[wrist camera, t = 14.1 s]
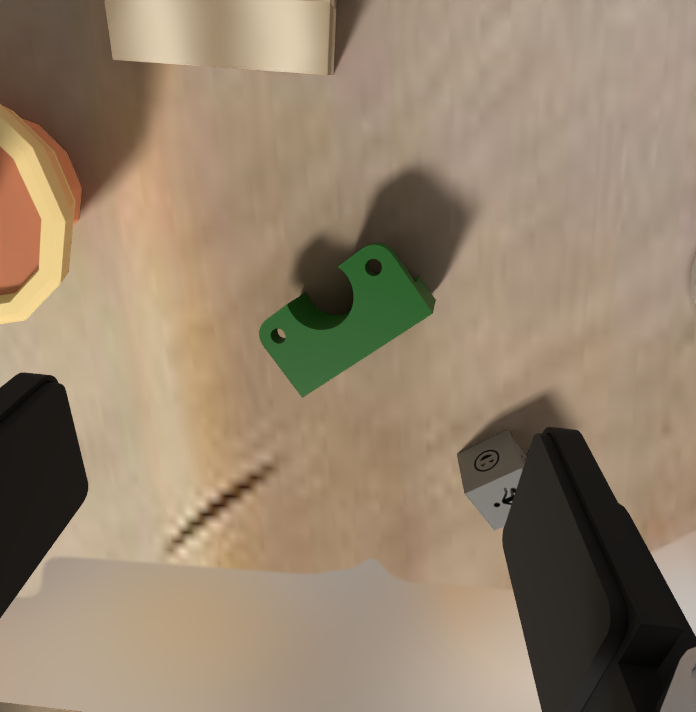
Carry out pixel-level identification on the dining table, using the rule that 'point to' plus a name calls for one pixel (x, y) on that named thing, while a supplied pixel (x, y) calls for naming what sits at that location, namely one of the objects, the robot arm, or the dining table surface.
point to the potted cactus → (33, 215)
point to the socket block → (226, 33)
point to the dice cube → (492, 476)
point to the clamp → (346, 320)
